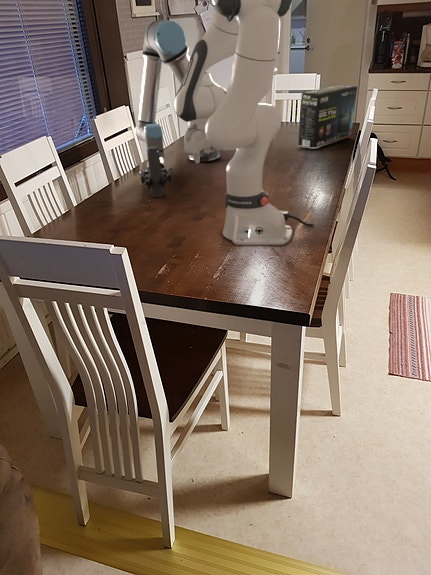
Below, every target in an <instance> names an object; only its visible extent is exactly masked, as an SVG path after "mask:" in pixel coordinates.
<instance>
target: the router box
mask: <svg viewBox="0 0 431 575" xmlns="http://www.w3.org/2000/svg"><path fill="white" fill-rule="evenodd" d="M357 93H358V86H356V85H350V84H339V85H338V84H337V85H334V86H328V87H324V88H318V89H314V90H309V91H304V92H301V93H300V109H299V110H300V111H299V124H298V137H297V146H298V145H302V146H307V147H317V146H320V145H323V144H325V143H328V142H331V141H333V140H336V139H338V138H341V137H344V136H347V135H351V136H352V133H353V132H352V131H353V125H354V115H355V109H356V99H357ZM311 151H313V150H312V149H311Z"/></svg>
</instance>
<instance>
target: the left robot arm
mask: <svg viewBox="0 0 431 575" xmlns="http://www.w3.org/2000/svg"><path fill="white" fill-rule="evenodd" d="M186 39H187V38H186V33H185V31H184V29H183V28H182V26H181V25H180V24H179V23H177V22H175V21H173V20H170V19H164V20H154V21H152V22H150V24H148V26H147V27H146V29H145V33H144V38H143V46H142V47H143V48H142V58H144V61H143V72H142V79H141V80H142V81H141V91H140V101H139V112H138V120H137V124H136V125H135V128H134V134H135V136H136V137H137V138H138V140H140V141H142V142H143V143H144V144H145V148H146V152H147V151H148V147H152V146H156V147H158V151H159V153H160V164H161V174H162V187H163V189H165V184H168V182H172V181H173V180H172V179H173V178H172V175H173V168H172V167H169V168H166V157H165V156H166V155H165V151H164V150H165V149H164V138H163V135H164V134H163V129H162V128H163V127H162V125H161V124H160V123H156V119H157V118H156V117H157V110H158V109H157V108H158V100H159V94H160V93H159V92H160V86H161V78H162V77H161V76H162V70H163V69H162V68H163V64H164V65H166V66H169V68H170V70H171V72H172V74H173V75H174V77H175V80H176V81H177V83H178V84H179V87H180V86H181V84H182V81H183V78H184V75H185V72H186V69H187V66H188V63H189V60H190V56H189V55H188V54H189V46H188V44H187V43H186ZM200 153H204V149H203V150H201V151H200ZM220 154H221V153H220V150H216V149H214V148H213V147H212V146H211V145H210V151H209V160H208V161H205V162H200V163H201V164H202V163H204V164H205V163H212V162H217V161H218V160H220V159H221V157H220V156H221V155H220ZM146 157H147V156H146ZM147 159H148V157H147ZM188 160H189V161H190V162H192V163H195V158H194V156H193V155H189V154H188ZM200 163H199V164H200ZM139 175H140V181H141V182H140V183H141V184H144V183H145V186H147V188H148V190H151V183H150V175H149V166H148V165H147V168H146V170H144V169H143V170H142V169H140V170H139Z"/></svg>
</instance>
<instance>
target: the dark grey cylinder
mask: <svg viewBox="0 0 431 575" xmlns="http://www.w3.org/2000/svg"><path fill="white" fill-rule="evenodd" d="M146 157H148V158H147V167H148V166H149V175H150V183H151V187H150V191H151V197H152V198H163V197H164V196H165V195H164V188H163V187H162V174H161V164H160V153H159V151H158V147H156V146H152V147H148V151H147V150H146Z"/></svg>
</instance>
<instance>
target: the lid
mask: <svg viewBox="0 0 431 575" xmlns="http://www.w3.org/2000/svg"><path fill="white" fill-rule="evenodd" d="M199 157H200V158H201V162H205V161H208V160H209V154H206V153H200V154H199Z"/></svg>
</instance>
